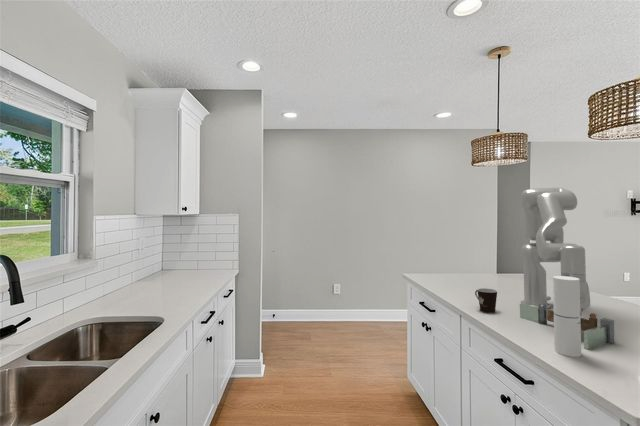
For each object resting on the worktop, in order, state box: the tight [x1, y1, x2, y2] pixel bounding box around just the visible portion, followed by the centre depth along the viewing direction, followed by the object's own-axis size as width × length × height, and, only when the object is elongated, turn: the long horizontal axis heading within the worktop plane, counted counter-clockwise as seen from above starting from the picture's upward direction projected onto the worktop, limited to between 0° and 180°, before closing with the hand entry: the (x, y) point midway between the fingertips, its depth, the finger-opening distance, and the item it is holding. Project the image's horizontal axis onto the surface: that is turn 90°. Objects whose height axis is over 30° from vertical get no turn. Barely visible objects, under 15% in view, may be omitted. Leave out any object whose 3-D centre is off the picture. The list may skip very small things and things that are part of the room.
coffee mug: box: [474, 287, 498, 314], centre depth 157 cm, size 12×9×10 cm
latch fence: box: [583, 317, 615, 350], centre depth 114 cm, size 15×3×8 cm, turn 115°
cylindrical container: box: [552, 275, 582, 358], centre depth 109 cm, size 7×7×25 cm
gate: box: [547, 309, 599, 332], centre depth 127 cm, size 17×2×9 cm, turn 22°
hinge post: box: [519, 303, 548, 326], centre depth 141 cm, size 3×11×8 cm, turn 24°
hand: (574, 325), depth 123 cm, fingers closed
